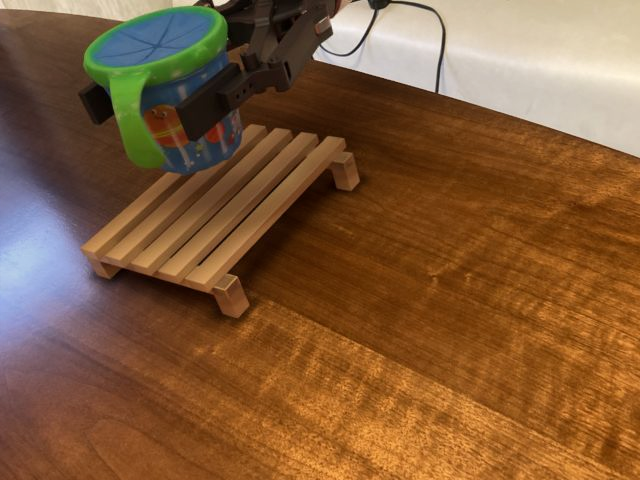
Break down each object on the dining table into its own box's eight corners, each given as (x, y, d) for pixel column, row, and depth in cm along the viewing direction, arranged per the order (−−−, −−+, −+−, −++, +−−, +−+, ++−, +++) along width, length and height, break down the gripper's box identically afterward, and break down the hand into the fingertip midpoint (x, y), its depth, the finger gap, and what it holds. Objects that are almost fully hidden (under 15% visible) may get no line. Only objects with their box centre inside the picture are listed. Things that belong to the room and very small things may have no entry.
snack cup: (185, 104, 70) (140, -6, 64) (291, 100, 67) (255, -16, 60) (99, 210, 60) (34, 92, 53) (220, 211, 57) (167, 86, 50)
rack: (94, 285, 67) (70, 245, 64) (233, 157, 79) (218, 118, 76) (234, 329, 60) (215, 287, 57) (365, 181, 71) (354, 139, 68)
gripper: (415, 33, 67) (267, 181, 54) (224, 19, 78) (60, 141, 65) (400, -55, 62) (232, 85, 49) (197, -58, 72) (14, 57, 60)
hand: (135, 116), depth 57 cm, fingers closed on snack cup, 9 cm apart
